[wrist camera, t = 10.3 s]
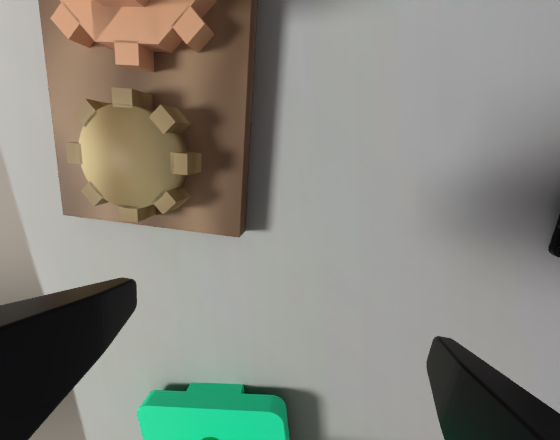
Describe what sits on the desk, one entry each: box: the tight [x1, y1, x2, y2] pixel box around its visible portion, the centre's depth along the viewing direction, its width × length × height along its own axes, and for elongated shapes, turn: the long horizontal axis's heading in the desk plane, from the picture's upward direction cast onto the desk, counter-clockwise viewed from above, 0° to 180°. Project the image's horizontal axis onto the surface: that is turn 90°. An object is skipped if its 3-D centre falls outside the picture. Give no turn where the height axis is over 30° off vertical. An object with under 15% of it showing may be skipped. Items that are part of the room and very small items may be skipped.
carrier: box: [38, 0, 258, 237], centre depth 16 cm, size 13×21×6 cm, turn 175°
